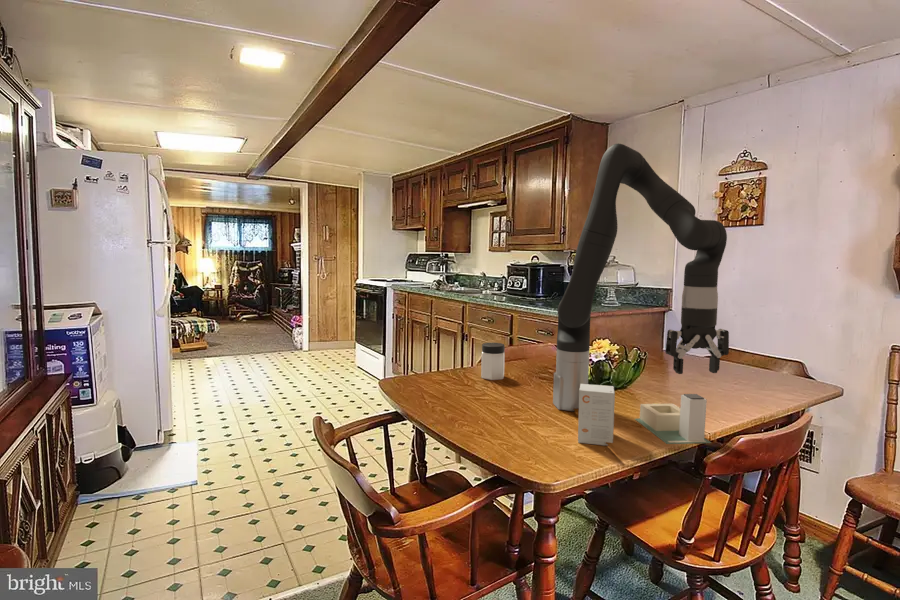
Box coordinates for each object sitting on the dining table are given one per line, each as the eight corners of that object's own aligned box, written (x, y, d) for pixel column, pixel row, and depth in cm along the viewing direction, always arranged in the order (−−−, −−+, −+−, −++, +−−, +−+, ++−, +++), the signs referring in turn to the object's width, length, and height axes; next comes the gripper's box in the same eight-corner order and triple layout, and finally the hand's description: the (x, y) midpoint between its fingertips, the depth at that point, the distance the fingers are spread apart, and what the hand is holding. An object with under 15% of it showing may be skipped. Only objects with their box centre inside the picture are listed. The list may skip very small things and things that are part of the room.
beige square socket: (656, 430, 120) (656, 415, 120) (638, 417, 130) (639, 403, 130) (690, 430, 121) (691, 414, 121) (670, 417, 131) (671, 402, 130)
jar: (509, 377, 175) (510, 344, 173) (496, 381, 169) (496, 347, 167) (489, 372, 181) (490, 341, 179) (476, 377, 174) (476, 344, 173)
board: (666, 447, 113) (666, 443, 112) (634, 422, 129) (634, 418, 129) (711, 447, 113) (711, 442, 113) (673, 421, 130) (673, 417, 130)
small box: (612, 437, 119) (614, 385, 118) (613, 447, 113) (615, 393, 111) (578, 433, 121) (580, 382, 120) (577, 443, 115) (579, 389, 114)
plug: (687, 440, 114) (690, 398, 113) (677, 433, 119) (679, 392, 118) (704, 440, 115) (706, 398, 113) (693, 433, 119) (695, 392, 118)
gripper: (718, 303, 118) (714, 368, 119) (661, 304, 117) (659, 369, 118) (738, 307, 110) (734, 376, 112) (678, 307, 109) (675, 377, 111)
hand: (695, 372), depth 115 cm, fingers open, 8 cm apart
